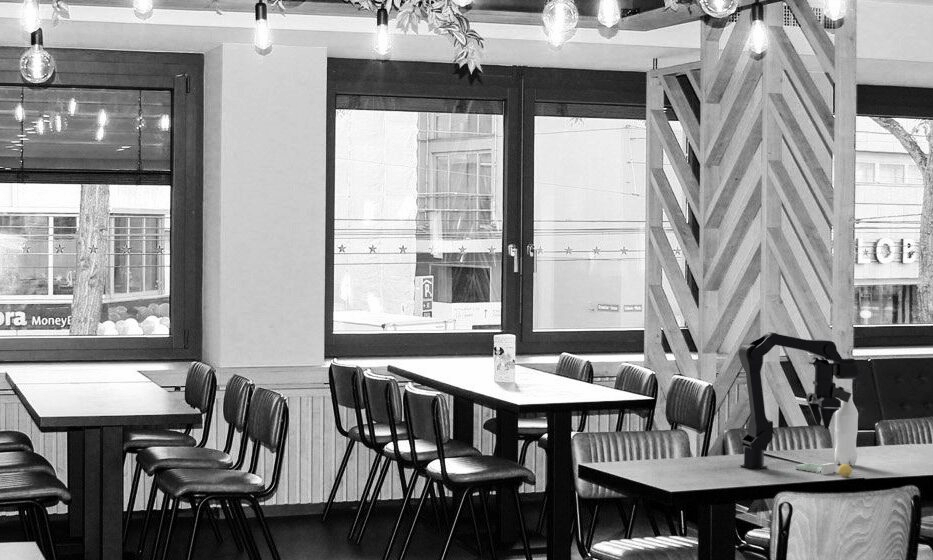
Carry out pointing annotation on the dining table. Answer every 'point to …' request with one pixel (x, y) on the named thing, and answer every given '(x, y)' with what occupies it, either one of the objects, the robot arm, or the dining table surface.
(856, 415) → the water bottle
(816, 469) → the dish
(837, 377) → the robot arm
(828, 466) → the wall
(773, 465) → the dining table surface
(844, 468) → the ball
